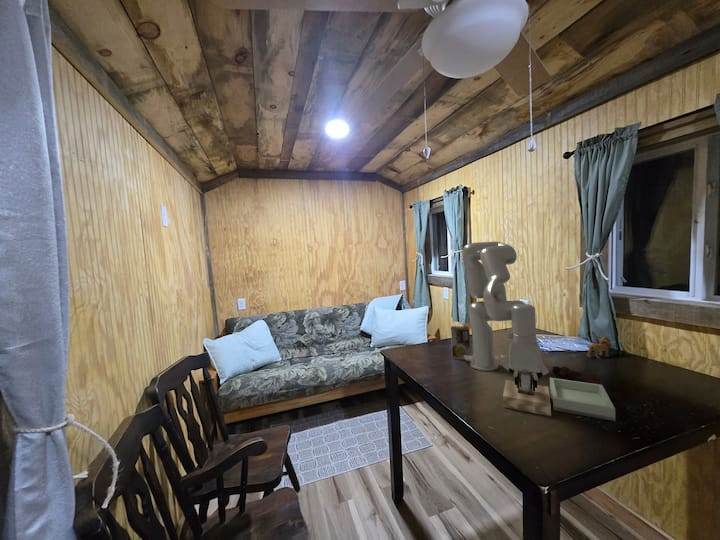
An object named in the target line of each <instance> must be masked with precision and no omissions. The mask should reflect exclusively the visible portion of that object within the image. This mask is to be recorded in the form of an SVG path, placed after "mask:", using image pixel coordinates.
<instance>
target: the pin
mask: <svg viewBox="0 0 720 540" xmlns="http://www.w3.org/2000/svg"><path fill="white" fill-rule="evenodd" d="M518 375H519V384H520V393H521V394H526V395H532V396H533V392H532V384H533V382H532V377H533V374H532V372H529V370H522V371H518Z"/></svg>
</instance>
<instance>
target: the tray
mask: <svg viewBox="0 0 720 540" xmlns="http://www.w3.org/2000/svg"><path fill="white" fill-rule="evenodd" d="M549 390H550V394H551V400H552V408H553V410H554V411H559V412H563V413H568V414H569V413H570V414H575V415H580V416H586V417H590V418H591V417H592V418H594V419H600V420H607V421H613V422H616V407H615V406H614V404H613V402H612V401H611V399H610V397H609V395H608V393H607V391H606V389H605V387H604V386H603V384H601V383H600V384H599V383H597V384H593V383H585V382H582V381H579V380H569V379H565V378H555V377H549Z"/></svg>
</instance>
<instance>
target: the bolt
mask: <svg viewBox="0 0 720 540" xmlns="http://www.w3.org/2000/svg"><path fill="white" fill-rule="evenodd" d="M551 370H552V373H553V374H556V375H559V376H560V378H561V379H573V380H574V381H578V382H585V383H593V384H598V376H597V374H595V373H594V372H589V373H583V372H579V371H575V370H572V369H571V370H570V368H569V367H568V366H562V367H560V366H556V365H555V366H552V369H551Z"/></svg>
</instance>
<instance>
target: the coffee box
mask: <svg viewBox="0 0 720 540" xmlns="http://www.w3.org/2000/svg"><path fill="white" fill-rule="evenodd" d="M450 334H451V336H450V337H451V350H452V359H453V360H465V359H464V355H468V356H471V355H472V354H471V343H470V327H469V326H466V325H465V326H460V325H459V326H458V325H457V326H456V325H455V326H453V325H452V326H451V327H450Z"/></svg>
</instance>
